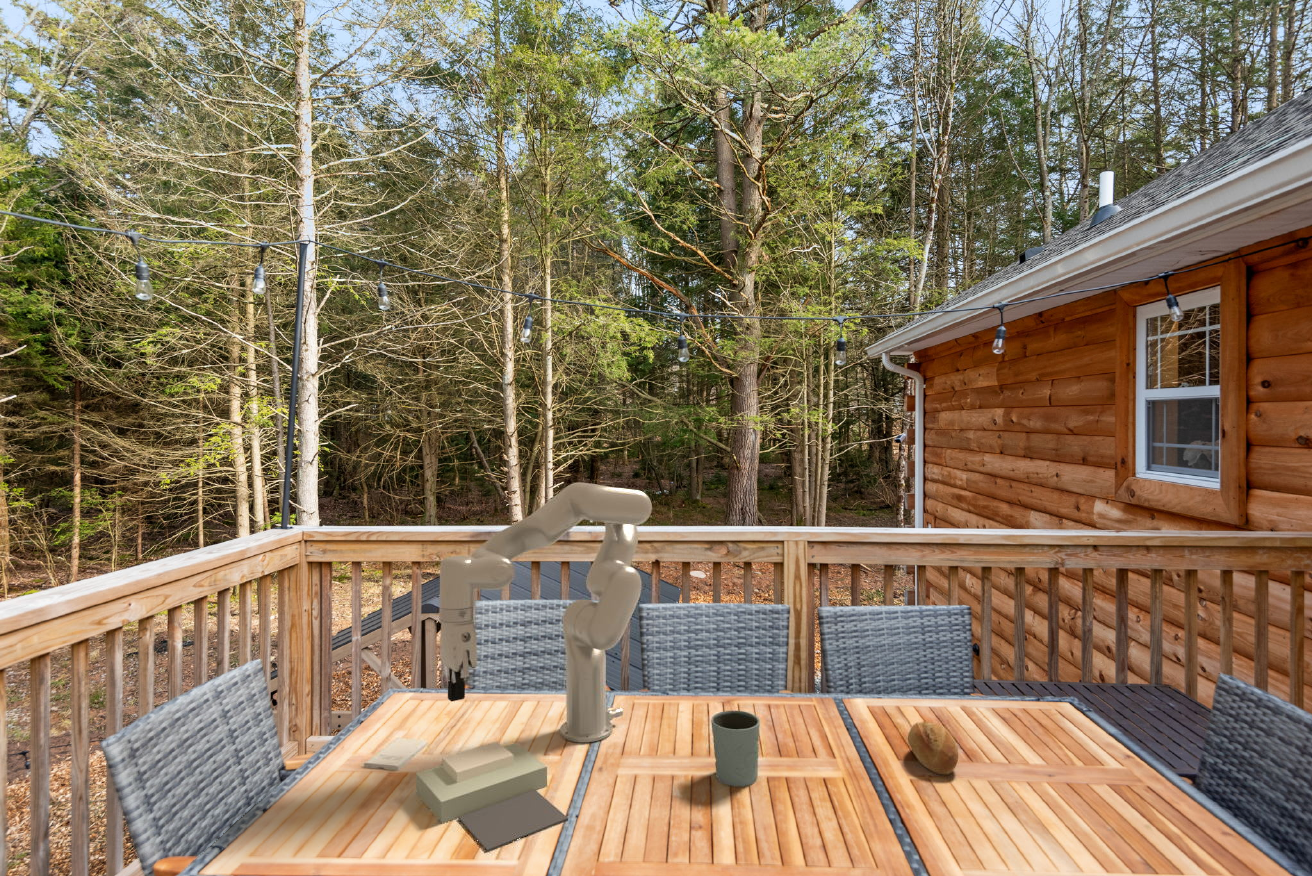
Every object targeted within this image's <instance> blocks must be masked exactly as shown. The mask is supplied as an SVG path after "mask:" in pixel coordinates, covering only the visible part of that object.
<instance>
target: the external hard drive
mask: <svg viewBox="0 0 1312 876" xmlns="http://www.w3.org/2000/svg"><path fill="white" fill-rule="evenodd" d="M428 746H429V740H426V739H414V738H406V737H405V738H404V737H396V738H395V739H394V740H392V741H391V742H390V743H389V744H387V745H386V746H385V747H383V748H382V749H381V750H379V751H378V752H377V753H375V754H374V755H373V756H372V757H370V758H369V759H368V760H366V761H365V762H364V763H363V767H364V768H368V769H369V768H371V769H383V770H390V771H399V770H400V769H401V768H403V767H404V766H406V765H407V763H409V762H410V761H411V760H412V759H414V758H415V757H416V756H417V755H418V754H420V753H421V752H422V751H423V750H424V749H425V748H426V747H428Z"/></svg>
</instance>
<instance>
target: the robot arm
mask: <svg viewBox="0 0 1312 876" xmlns="http://www.w3.org/2000/svg"><path fill="white" fill-rule="evenodd" d="M652 511H653V506H652V502H651V499H650V497H649V496H648V495H647V494H646V492H643V491H641V490H639V489H632V488H624V487H613V486H607V485H602V484H596V483H588V482H573V483H571V484H568V486H566V487H565V488H563V489H562V490H560V492H558V493H557V494H555V495H554V496H553V497H551V498H550V499H549V500H548V501H547V502H545V503H544V504H543V505H542V506H541V507H539V508H538V509H536V510H535V511H534V512H532V513H531V514H530V515H529V516H527V517H525V518H523V519H521V520H519V521H517V522H516V523H514V524H511V525H510V526H508V527H506V528H504V529H503V530H500V531H498V532H497V533H495V534H494V535H493V536H491V537H490V538H489V539H488V540H486V541H485V542H484V543H482V544H481V545H480V546H479V547H477V548H476V549H475V550H474V551H473V552H472V553H471V554H470V555H452V556H447V557H444V558H442V560H441V562H440V565H439V566H440V567H439V613H438V615H439V620H438V621H439V622H438V623H440V624H441V626H440V638H439V640H440V641H439V653H440V654H439V658H440V660H441V662H442V663H443V664H444V666H445V667H446V673H447V674H446V679H447V680H448V681H447V699H448V701H450V702H456V701H457V702H458V701H461V700H464V699H465V698H466V695H465V694H466V680H467V678H469V677H470V669H469V667H470V668H471V669H476V668H477V666H478V646H477V645H478V644H477V643H478V642H477V632H476V625H475V621H476V607H477V606H476V605H477V604H476V602H477V601H476V599H477V598H476V597H477V594H476V593H477V590H492V591H493V590H494V591H495V590H500V589H504V588H507V587H508V586H509V585H511V584H510V583H512V581H514V578H515V573H516V571H515V566H514V564H513V562H512V560H514V559H515V558H517V557H519V556H520V555H523V554H525V553H527V552H530V551H535V550H540V549H544V548H547V547H549V546H550V547H551V546H552V545H553V544H555V543H556V542H557V541H558V540H560V539H561V538H562V537H563V536H564V535H566V534H568V532H569V531H571V529H573V528H574V527H575V526H577V525H578V524H579V523H581V521H583V520H587V521H592V522H596V523H597V522H599V523H604V526H605V527H604V528H605V533H604V538H603V541H602V543H601V545H600V548H599V550H598V553H597V554H596V556H595V559H594V560H593V563H592V565H591V567H590V569H589V571H588V574H587V576H586V580H585V585H586V588H587V591H589V593H590V594H591V595H593V596H595V597H596V598H599V600H598V602H595V601H593V600H589V599H577V600H575V601H573V602H571V603H570V604H569V605H568V606H567V607H566V609H565V610H564V613H563V617H562V631H563V632H562V633H563V637H564V638H563V640H564V645H565V660H566V661H565V668H566V669H565V675H566V677H565V679H566V680H565V682H566V685H565V689H566V702H565V703H566V721H565V722H563V723H562V724H561V725H560V727H559V728H560V729H559V733H560V735H561V737H562V738H564V739H565V740H567V741H569V742H570V741H571V742H575V743H592V742H598V741H601V740H604V739H606V738H607V737H609V736H610V735H611V734H612V733H613V728H614V727H613V724H612V722H611V721H612V720H613V719H615V718H619V717H623V715H624V712H623V709H622V708H621V707H618V708H615V709H613V707H611V706H609V707H607V686H606V685H607V682H606V679H607V675H606V674H607V673H606V672H607V670H606V667H607V659H606V658H607V657H606V651H608V650H611V649H612V648H614V647H615V646H616V645H618V643H619V641H620V640H621V638H622V637H623V636H624V633H625V632H626V629H627V627H628V625H629V623H630V620H631V618H632V616H633V613H634V611H635V610H636V607H637V604H638V602H639V600H640V596H641V593H642V578H641V575H640V573H639V572H638V570H636V569H635V568H634V567H632V566H631V565H632V564H631V563H632V562H633V559H634V556H635V554H636V551H637V548H638V544H639V543H638V541H639V535H638V533H639V532H638V527H637V526H639V525H642V524H643V523H646V521H648V519H649V517H650V516H651V514H652Z"/></svg>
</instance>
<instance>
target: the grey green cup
mask: <svg viewBox="0 0 1312 876" xmlns="http://www.w3.org/2000/svg"><path fill="white" fill-rule="evenodd" d="M710 721H711V722H710V723H711V733H712V736H713V737H712V741H713V750H714V752H713V753H714V757H715V761H714V763H715V764H714V765H715V772H716V773H715V775H716V778H717V780H718V781H719V782H720V783H722V784H724V785H726V786H729V787H733V788H734V787H737V788H740V787H741V788H742V787H748V786H752V785H753V784H755V783H756V781H757V780H758V774H759V772H758V771H759V769H758V768H759V752H760V751H759V749H760V747H759V741H760V740H759V739H760V738H759V736H760V725H761V724H760V722H761V721H760V719H759V717H758V716H757V715H755V714H753V713H751V712H748V711H743V710H724V711H721V712H718V713H715V714H714V715H713V716H712V717H711V720H710Z"/></svg>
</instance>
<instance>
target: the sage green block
mask: <svg viewBox="0 0 1312 876" xmlns="http://www.w3.org/2000/svg"><path fill="white" fill-rule="evenodd" d="M502 746H503V747H504V748H506V749H507V750H508V751H509V752H511V753H512V754H513V755H514V765H511V766H508V767H505V768H502V769H499V770H496V771H492V772H489V773H486V774H483V775H480V776H477V777H474V778H471V779H468V780H465V781H462V782H458V783H457V782H456V781H455V780H454V779H453V778H452V777H451V776H450V775H449V774H448V773H447V772H446V771H445V770H444V769H443V768H442V764H441V765H438V766H434V767H432V768H429V769H425V770H421V771H417V772H416V773H415V793H416V794H417V796H418V797H419V798H420V799H421V801H422V802H423V803H424V804H425V805H426V806H427V808H428V809H429V810H430V811H431V812H432V814H433V815H434V816H435V818H437V820H438V821H439V823H440V824H444V823H447V822H450V821H453V820H455V819H458V817H460V816H463V815H465V814H468V813H471V812H474V811H477V810H480V809H482V808H485V807H488V806H491V805H494V804H496V803H499V802H502V801H505V800H508V799H511V798H513V797H516V796H519V795H522V794H525V793H527V792H530V791H533V790H536V791H537V790H541V789H543V788H546V787H548V766H547V765H546V764H545V763H543V762H542V761H541V760H539V759H538V758H537V757H535V756H534V755H533V754H532V753H531V752H529V751H528V750H527V749H525V748H524V747H523V746H521V745H520V744H519V743H517V742H514V743H511V744H508V745H502Z"/></svg>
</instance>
